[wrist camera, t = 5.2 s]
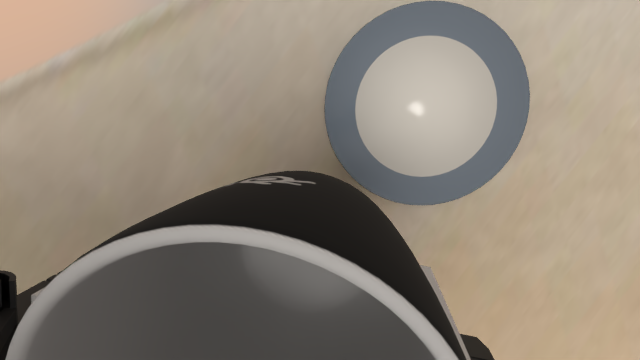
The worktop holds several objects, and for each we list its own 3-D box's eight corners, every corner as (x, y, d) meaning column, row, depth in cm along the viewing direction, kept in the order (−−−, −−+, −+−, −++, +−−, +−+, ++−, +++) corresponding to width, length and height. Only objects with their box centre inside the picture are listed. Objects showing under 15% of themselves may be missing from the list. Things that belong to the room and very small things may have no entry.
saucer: (315, 188, 31) (313, 191, 30) (338, -6, 28) (338, -11, 27) (498, 214, 30) (504, 218, 29) (546, 16, 27) (554, 12, 26)
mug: (352, 109, 15) (339, 115, 5) (443, 290, 16) (586, 598, 6) (126, 230, 17) (-202, 403, 7) (221, 380, 18) (54, 713, 8)
